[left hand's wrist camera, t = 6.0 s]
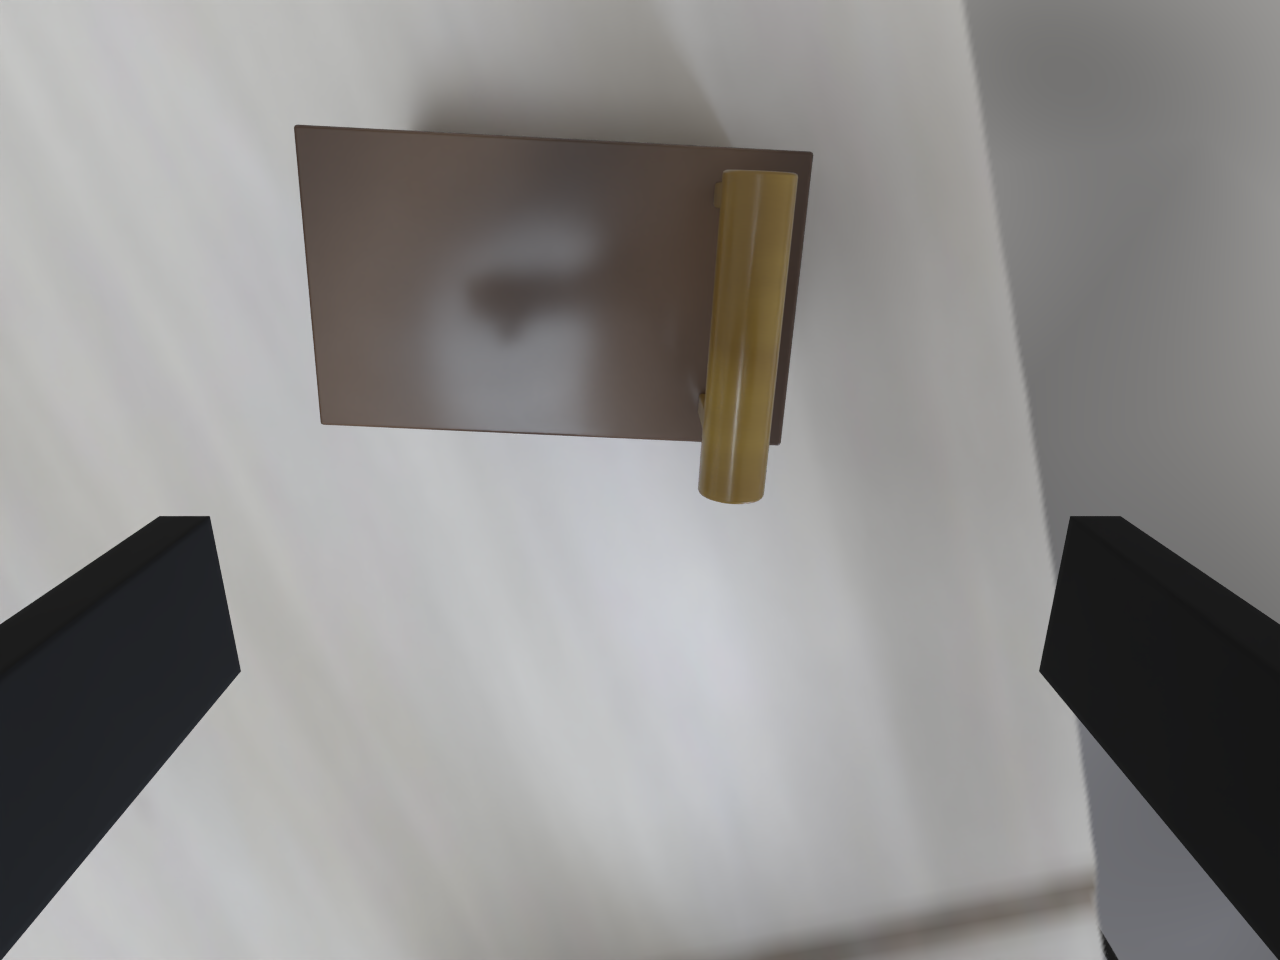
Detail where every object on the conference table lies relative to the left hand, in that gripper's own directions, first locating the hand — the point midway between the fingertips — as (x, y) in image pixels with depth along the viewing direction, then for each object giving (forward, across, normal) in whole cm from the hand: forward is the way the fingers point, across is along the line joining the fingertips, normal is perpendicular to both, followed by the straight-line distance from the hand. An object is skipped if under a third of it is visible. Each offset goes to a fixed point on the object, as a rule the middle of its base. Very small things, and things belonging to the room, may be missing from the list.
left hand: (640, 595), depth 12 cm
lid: (+16, +3, -3) cm, 16 cm away
